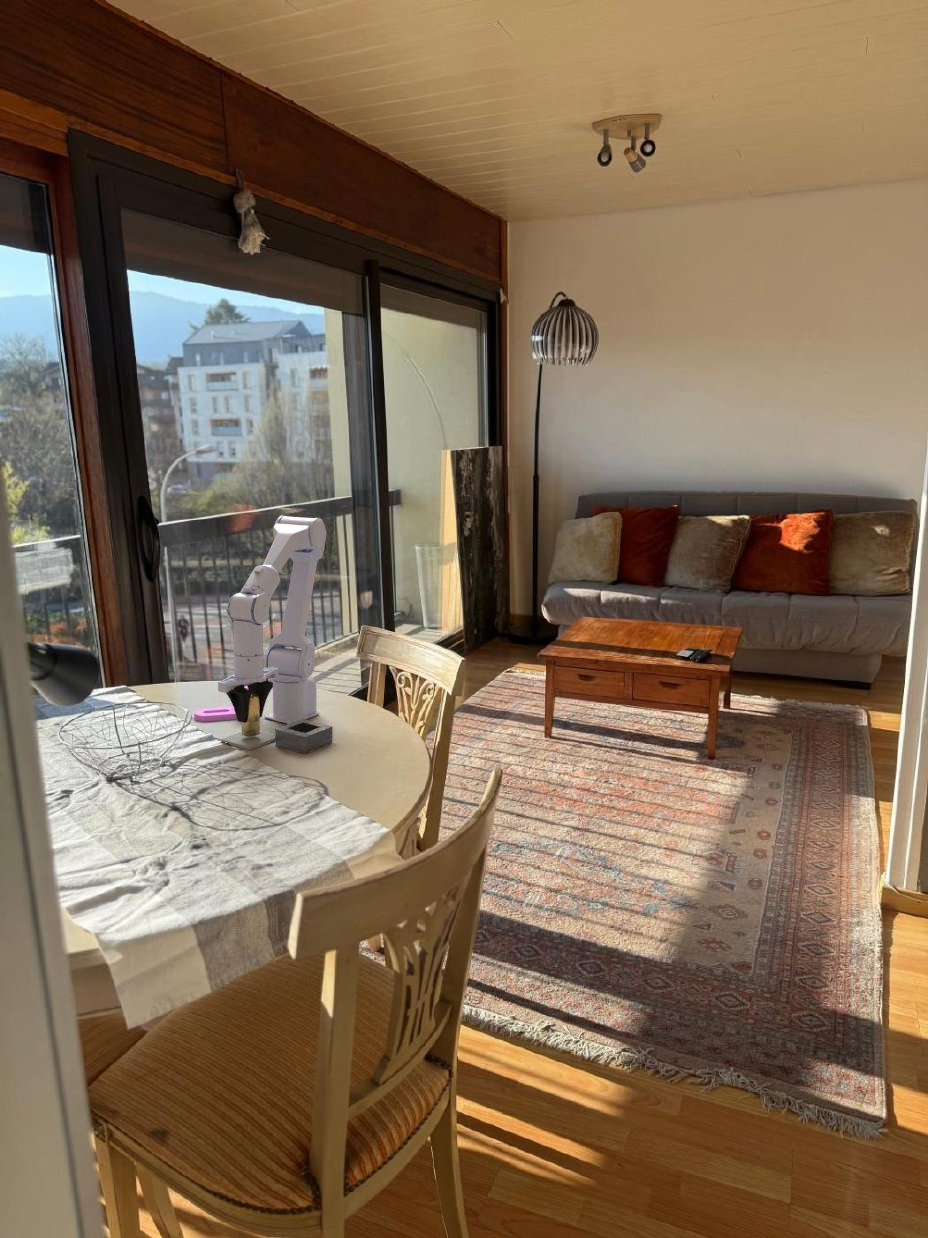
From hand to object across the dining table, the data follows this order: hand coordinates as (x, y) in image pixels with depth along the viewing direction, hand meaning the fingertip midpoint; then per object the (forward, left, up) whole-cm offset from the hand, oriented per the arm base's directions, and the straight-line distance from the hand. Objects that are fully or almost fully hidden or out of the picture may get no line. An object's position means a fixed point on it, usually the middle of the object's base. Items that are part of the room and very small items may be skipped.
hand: (249, 719), depth 175 cm
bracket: (-8, -16, -5) cm, 19 cm away
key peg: (0, 0, -3) cm, 3 cm away
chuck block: (-5, +10, -5) cm, 12 cm away
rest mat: (0, 0, -5) cm, 5 cm away
